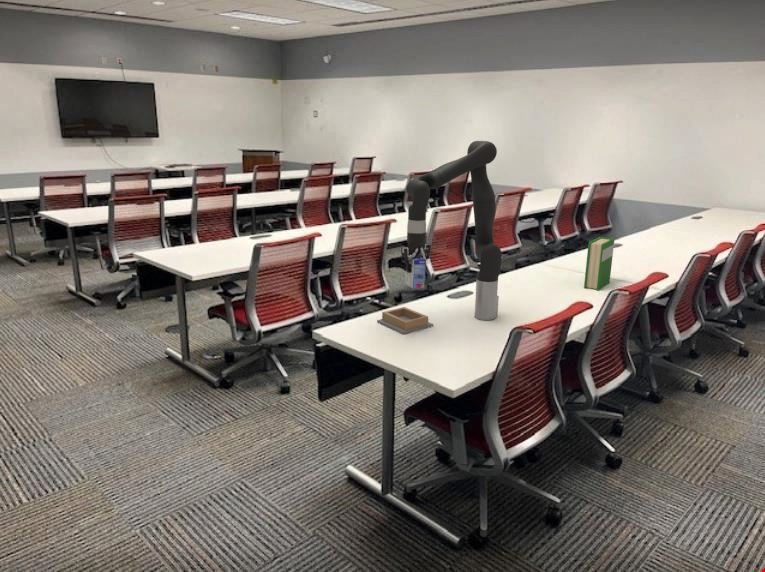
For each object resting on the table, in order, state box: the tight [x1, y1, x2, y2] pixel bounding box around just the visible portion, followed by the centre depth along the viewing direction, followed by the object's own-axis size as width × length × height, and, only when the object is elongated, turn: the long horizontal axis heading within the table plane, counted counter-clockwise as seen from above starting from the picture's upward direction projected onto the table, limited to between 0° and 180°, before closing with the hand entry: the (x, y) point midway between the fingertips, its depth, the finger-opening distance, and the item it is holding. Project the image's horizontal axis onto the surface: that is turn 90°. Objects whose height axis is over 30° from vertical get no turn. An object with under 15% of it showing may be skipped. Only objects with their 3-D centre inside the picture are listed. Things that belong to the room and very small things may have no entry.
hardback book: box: [583, 236, 616, 292], centre depth 294 cm, size 18×7×24 cm, turn 142°
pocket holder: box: [376, 306, 434, 335], centre depth 242 cm, size 16×18×4 cm
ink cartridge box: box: [404, 252, 427, 290], centre depth 232 cm, size 10×6×14 cm, turn 17°
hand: (415, 270), depth 233 cm, fingers closed on ink cartridge box, 6 cm apart
